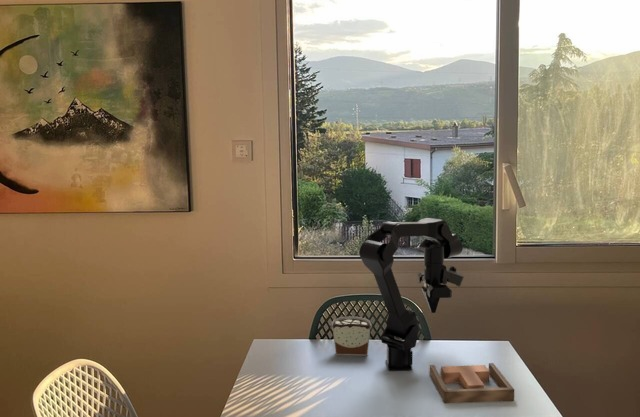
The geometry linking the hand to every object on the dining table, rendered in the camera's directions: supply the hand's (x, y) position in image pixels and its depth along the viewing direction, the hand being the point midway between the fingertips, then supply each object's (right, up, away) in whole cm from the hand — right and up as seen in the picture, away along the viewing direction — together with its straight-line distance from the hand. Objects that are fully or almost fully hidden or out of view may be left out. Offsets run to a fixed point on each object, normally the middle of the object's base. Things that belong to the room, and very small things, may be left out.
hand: (433, 312), depth 181 cm
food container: (-24, -12, +3) cm, 27 cm away
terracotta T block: (+5, -15, -22) cm, 27 cm away
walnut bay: (+5, -16, -23) cm, 28 cm away
